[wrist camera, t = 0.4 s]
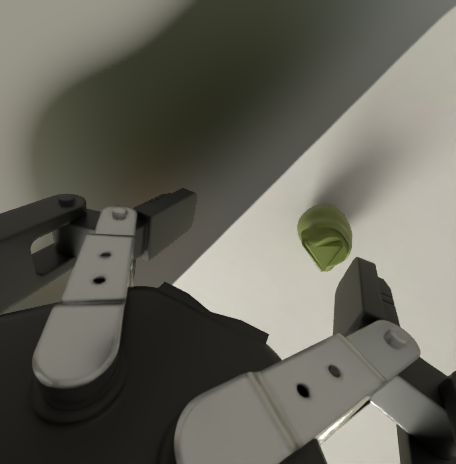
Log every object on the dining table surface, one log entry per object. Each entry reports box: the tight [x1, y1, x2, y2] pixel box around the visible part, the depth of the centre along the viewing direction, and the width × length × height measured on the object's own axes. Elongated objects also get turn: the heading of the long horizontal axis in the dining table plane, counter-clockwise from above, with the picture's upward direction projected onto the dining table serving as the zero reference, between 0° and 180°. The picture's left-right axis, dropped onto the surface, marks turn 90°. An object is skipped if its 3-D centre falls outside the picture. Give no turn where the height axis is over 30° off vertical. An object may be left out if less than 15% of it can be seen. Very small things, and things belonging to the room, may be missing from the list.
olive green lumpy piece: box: [297, 204, 352, 272], centre depth 26 cm, size 6×5×10 cm
